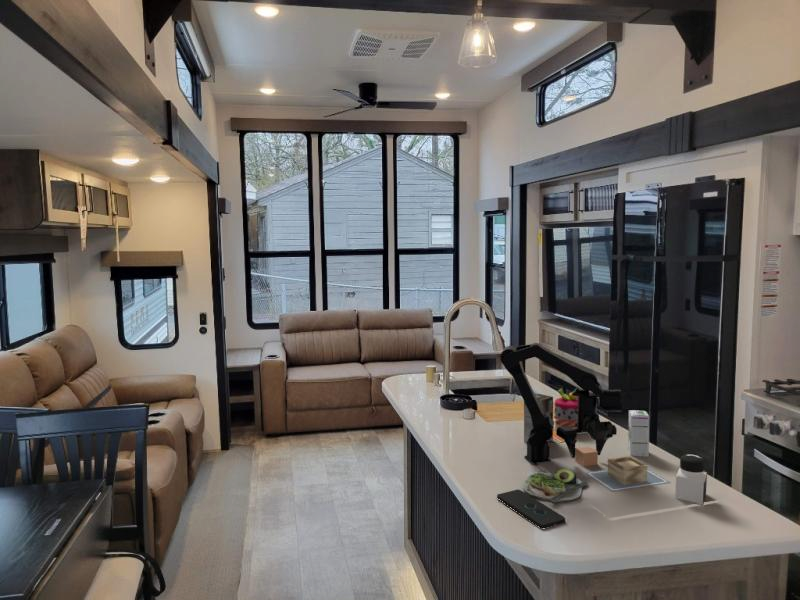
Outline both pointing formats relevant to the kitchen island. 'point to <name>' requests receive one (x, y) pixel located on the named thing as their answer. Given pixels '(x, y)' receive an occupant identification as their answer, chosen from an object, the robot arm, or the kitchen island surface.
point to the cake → (566, 410)
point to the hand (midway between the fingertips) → (585, 456)
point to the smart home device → (531, 508)
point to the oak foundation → (627, 470)
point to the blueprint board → (617, 486)
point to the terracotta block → (586, 456)
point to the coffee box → (545, 405)
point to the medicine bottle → (691, 480)
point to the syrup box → (638, 433)
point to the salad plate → (555, 485)
